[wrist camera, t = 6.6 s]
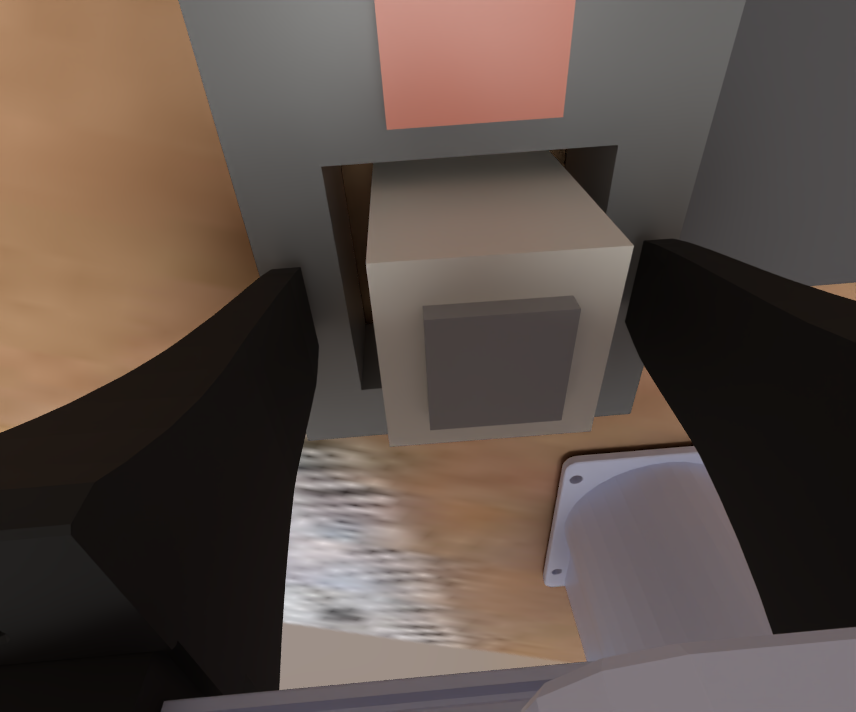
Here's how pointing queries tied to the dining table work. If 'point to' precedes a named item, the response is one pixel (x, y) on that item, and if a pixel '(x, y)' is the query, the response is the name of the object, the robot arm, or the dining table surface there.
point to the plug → (490, 296)
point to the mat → (784, 145)
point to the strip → (451, 132)
